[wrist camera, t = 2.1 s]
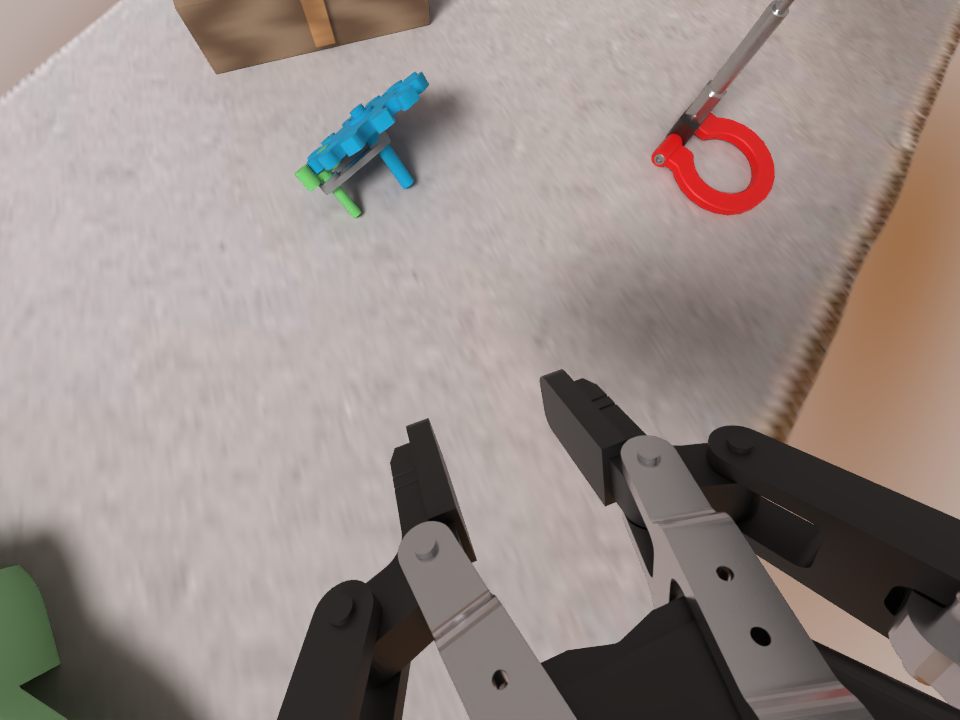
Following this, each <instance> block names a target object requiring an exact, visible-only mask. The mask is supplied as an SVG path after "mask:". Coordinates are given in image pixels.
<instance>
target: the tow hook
mask: <svg viewBox="0 0 960 720" xmlns="http://www.w3.org/2000/svg"><path fill="white" fill-rule="evenodd" d="M793 1H794V0H775V1H772V2H771V3H770V5H769V6H768V7H767V9H766V10H765V11H764V13H763V14H762V15H761V17H760V18H759V19H758V21H757V22H756V23H755V25H754V26H753V27H752V29H751V30H750V31H749V33H748V34H747V35H746V36H745V38H744V39H743V40H742V42H741V43H740V44H739V46H738V47H737V48H736V50H735V51H734V52H733V54H732V55H731V56H730V58H729V59H728V60H727V62H726V63H725V64H724V66H723V67H722V68H721V70H720V71H719V72H718V74H717V75H716V76H715V78H714V79H713V80H710V81H709V83H708V84H707V85H706V86H705V87H704V89H703V90H702V91H701V93H700V94H699V95H698V97H697V98H696V99H695V101H694V102H693V103H692V104H691V105H690V107H689V108H688V109H687V110H686V111H685V112H684V114H683V115H682V116H681V117H680V119H679V120H678V121H677V123H676V124H675V125H674V127H673V128H672V129H671V131H670V132H669V133H668V135H667V136H666V139H665V140H664V141H663V142H662V144H661V145H660V146H659V147H658V148H657V150H656V151H655V152H654V153H653V154H652V162H653V163H654V164H655V165H656V166H658V167H664V166H666V167H668V168H669V169H670V170H672V171H673V174H674V177H675V179H676V181H677V183H678V185H679V187H680V189H681V190H682V191H683V192H684V193H685V194H686V196H687V197H688V198H689V199H690V200H691V201H693V202H694V203H696V204H697V205H698V206H700V207H701V208H703V209H706V210H708V211H711V212H713V213H717V214H723V215H734V214H741V213H743V212H746V211H749V210H751V209H752V208H754V207H755V206H756V205H758V204H759V203H760V202H761V201H763V200H764V199H765V198H766V197H767V195H768V194H769V192H770V190H771V189H772V185H773V182H774V178H775V176H774V163H773V160H772V157H771V154H770V152H769V150H768V149H767V147H766V145H765V143H764V142H763V141H762V140H761V139H760V138H759V137H758V135H757V134H756V133H755V132H753V131H752V130H750V129H749V128H748V127H746V126H745V125H743V124H740V123H738V122H736V121H733V120H730V119H725V118H719V117H718V118H717V117H716V116H715V115H713V114H712V113H711V111H712V109H713V108H714V107H715V106H716V105H717V103H718V102H719V101H720V100H721V99H722V97H723V96H724V95H725V94H726V92H727V91H726V89H727V88H728V87H729V86H730V85H731V83H732V82H733V81H734V80H735V78H736V77H737V76H738V75H739V74H740V72H741V71H742V70H743V69H744V67H745V66H746V65H747V64H748V62H749V61H750V60H751V59H752V58H753V56H754V55H755V54H756V53H757V51H758V50H759V49H760V48H761V47H762V45H763V44H764V43H765V42H766V40H767V39H768V38H769V37H770V35H771V34H772V33H773V32H774V31H775V29H776V28H777V27H778V26H779V24H780V23H781V22H782V21H783V20H784V18H785V17H786V16H787V15H788V13H789V9H788V8H789V6H790V5H791V4H792V3H793ZM693 134H695V135H696V136H698V137H699V138H700V139H702V140H707V139H721V140H725V141H728V142H730V143H732V144H734V145H735V146H737V147H738V148H739V149H740V150H741V151H742V152H743V153H744V154H745V155H746V157H747V159H748V160H749V162H750V166H751V169H752V178H751V182H750V185H749V186H748V188H747V189H746V190H745V191H742V192H740V193H734V194H728V193H722V192H719V191H717V190H715V189H713V188H711V187H710V186H708V185H707V184H706V183H705V182H704V181H703V180H702V179H701V178H700V177H699V175H698V173H697V171H696V169H695V166H694V162H693V154H692V152H691V151H689V150H688V149H687V148H685V147H684V145H685V144H686V142H687V141H688V140H689V139H690V138H691V136H692V135H693Z"/></svg>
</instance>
